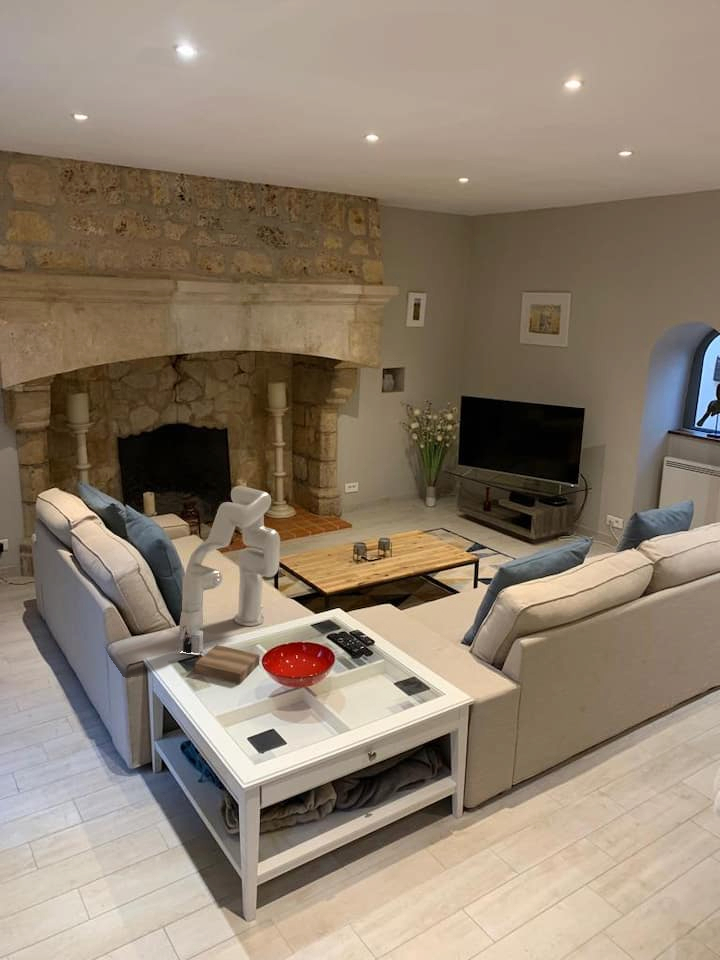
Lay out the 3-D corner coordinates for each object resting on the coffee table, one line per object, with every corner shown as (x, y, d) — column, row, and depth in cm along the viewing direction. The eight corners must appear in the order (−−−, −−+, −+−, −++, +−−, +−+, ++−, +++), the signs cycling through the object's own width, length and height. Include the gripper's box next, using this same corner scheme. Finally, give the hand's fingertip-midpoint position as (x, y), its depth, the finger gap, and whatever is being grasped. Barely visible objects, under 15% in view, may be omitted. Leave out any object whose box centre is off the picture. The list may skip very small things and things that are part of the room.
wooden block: (216, 654, 277) (216, 644, 276) (259, 664, 272) (259, 654, 271) (194, 673, 262) (195, 663, 261) (239, 684, 257) (240, 674, 256)
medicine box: (203, 651, 278) (203, 630, 276) (199, 656, 274) (199, 635, 272) (183, 648, 279) (183, 628, 277) (179, 654, 274) (179, 633, 272)
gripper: (195, 594, 281) (193, 637, 285) (171, 611, 265) (170, 656, 269) (212, 598, 279) (210, 641, 283) (189, 615, 263) (188, 660, 267)
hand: (191, 648), depth 276 cm, fingers closed on medicine box, 5 cm apart
